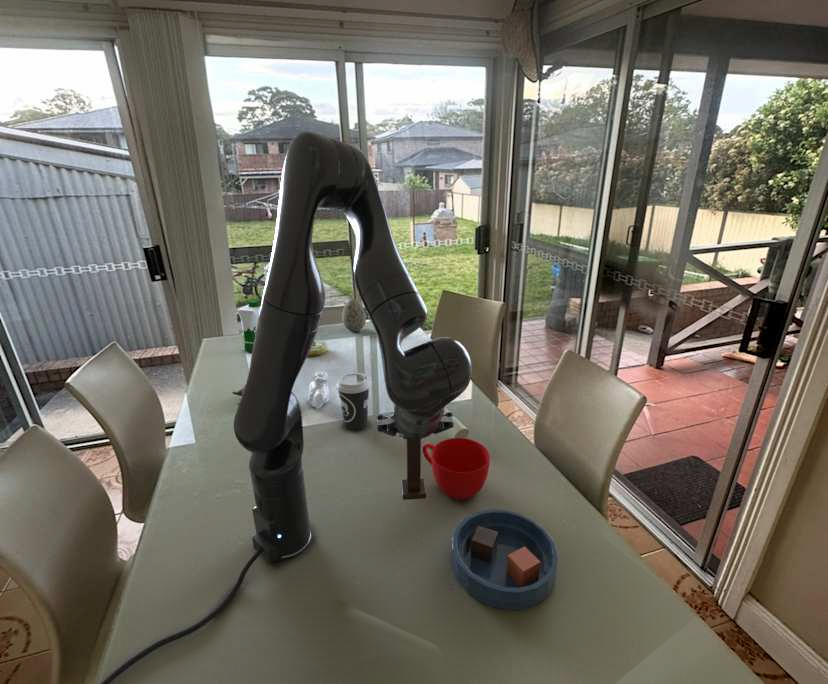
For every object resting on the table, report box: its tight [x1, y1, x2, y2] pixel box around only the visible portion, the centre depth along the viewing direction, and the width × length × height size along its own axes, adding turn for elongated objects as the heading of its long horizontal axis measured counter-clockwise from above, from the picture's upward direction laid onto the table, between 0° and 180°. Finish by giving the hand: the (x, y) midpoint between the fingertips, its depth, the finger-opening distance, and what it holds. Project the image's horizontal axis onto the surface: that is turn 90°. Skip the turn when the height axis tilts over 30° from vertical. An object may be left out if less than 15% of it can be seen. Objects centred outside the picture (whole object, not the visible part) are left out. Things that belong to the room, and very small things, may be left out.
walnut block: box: [471, 526, 498, 563], centre depth 83 cm, size 4×4×4 cm
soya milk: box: [236, 299, 261, 353], centre depth 179 cm, size 9×9×20 cm
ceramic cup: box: [421, 437, 491, 501], centre depth 100 cm, size 13×17×10 cm
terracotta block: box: [506, 546, 540, 587], centre depth 78 cm, size 4×4×4 cm
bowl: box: [451, 508, 559, 611], centre depth 81 cm, size 19×19×5 cm
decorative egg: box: [341, 298, 367, 333], centre depth 200 cm, size 11×11×15 cm
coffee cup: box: [335, 372, 371, 432], centre depth 125 cm, size 10×10×15 cm
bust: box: [307, 371, 330, 409], centre depth 139 cm, size 12×8×11 cm
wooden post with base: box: [400, 437, 427, 501], centre depth 83 cm, size 4×4×16 cm
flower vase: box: [444, 406, 470, 439], centre depth 132 cm, size 12×12×35 cm
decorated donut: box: [308, 340, 328, 357], centre depth 178 cm, size 10×11×4 cm
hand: (412, 433), depth 83 cm, fingers closed on wooden post with base, 2 cm apart
